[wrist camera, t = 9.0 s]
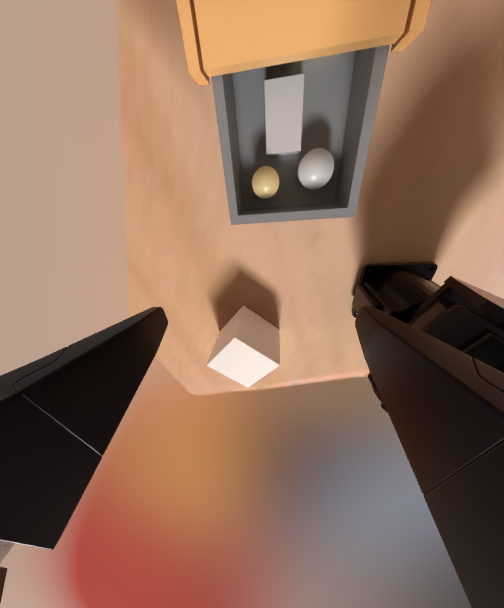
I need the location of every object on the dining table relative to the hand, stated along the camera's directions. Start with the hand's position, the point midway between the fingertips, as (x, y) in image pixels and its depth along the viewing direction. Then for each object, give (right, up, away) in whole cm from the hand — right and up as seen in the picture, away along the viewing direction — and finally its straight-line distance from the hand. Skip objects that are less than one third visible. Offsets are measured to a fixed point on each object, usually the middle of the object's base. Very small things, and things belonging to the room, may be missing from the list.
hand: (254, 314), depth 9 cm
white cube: (-1, -3, +18) cm, 18 cm away
